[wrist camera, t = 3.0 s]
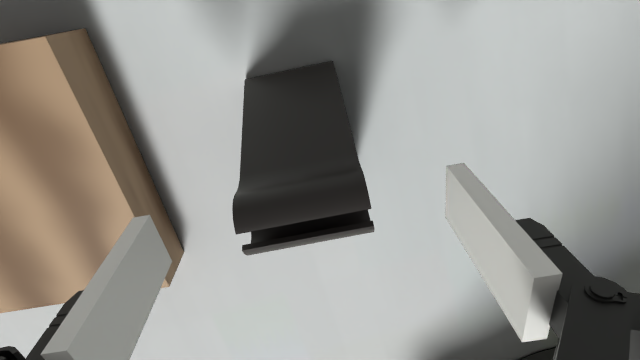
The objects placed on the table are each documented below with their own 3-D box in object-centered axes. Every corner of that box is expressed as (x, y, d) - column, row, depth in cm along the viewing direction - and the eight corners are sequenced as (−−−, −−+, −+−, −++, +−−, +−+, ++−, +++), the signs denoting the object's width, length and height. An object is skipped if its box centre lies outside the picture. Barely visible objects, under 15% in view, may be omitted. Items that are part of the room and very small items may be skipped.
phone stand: (352, 176, 28) (383, 291, 18) (277, 191, 29) (264, 312, 18) (333, 59, 24) (359, 119, 13) (245, 77, 24) (203, 150, 14)
